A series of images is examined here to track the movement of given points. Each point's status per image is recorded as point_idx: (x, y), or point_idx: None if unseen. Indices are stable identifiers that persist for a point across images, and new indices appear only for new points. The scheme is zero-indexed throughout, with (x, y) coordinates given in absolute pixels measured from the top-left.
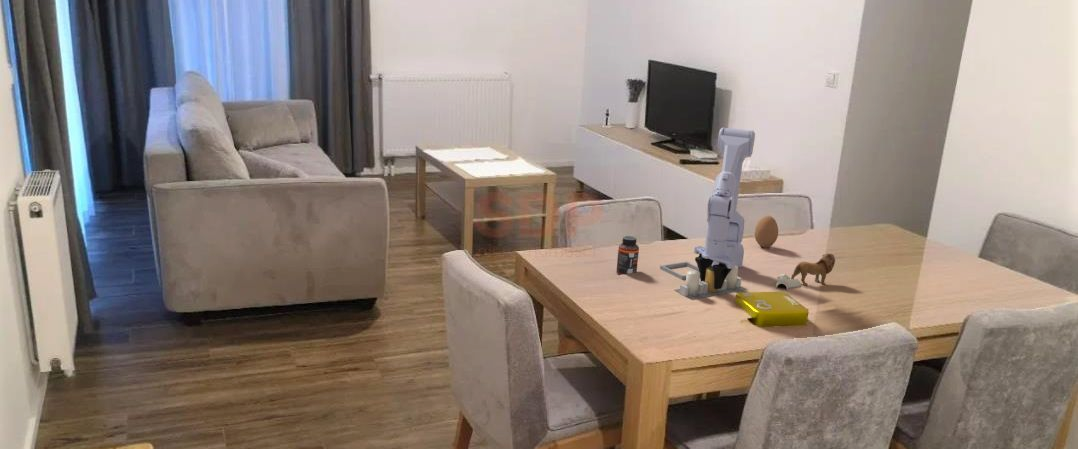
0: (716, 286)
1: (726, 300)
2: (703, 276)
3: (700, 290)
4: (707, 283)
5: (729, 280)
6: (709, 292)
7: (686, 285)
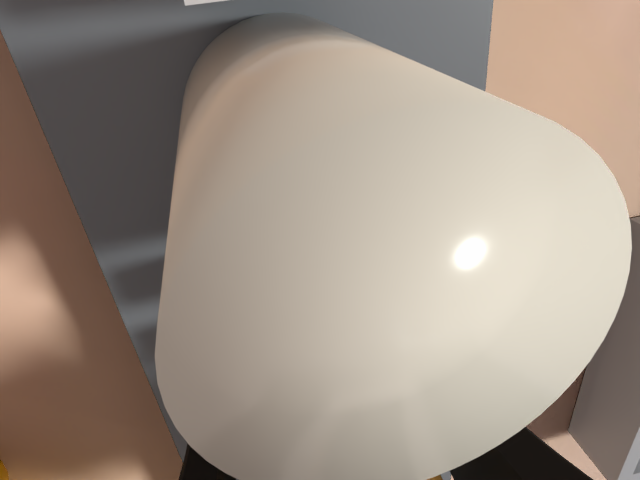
0: (182, 473)
1: (146, 421)
2: None
3: None
4: None
5: None
6: None
7: (316, 27)
